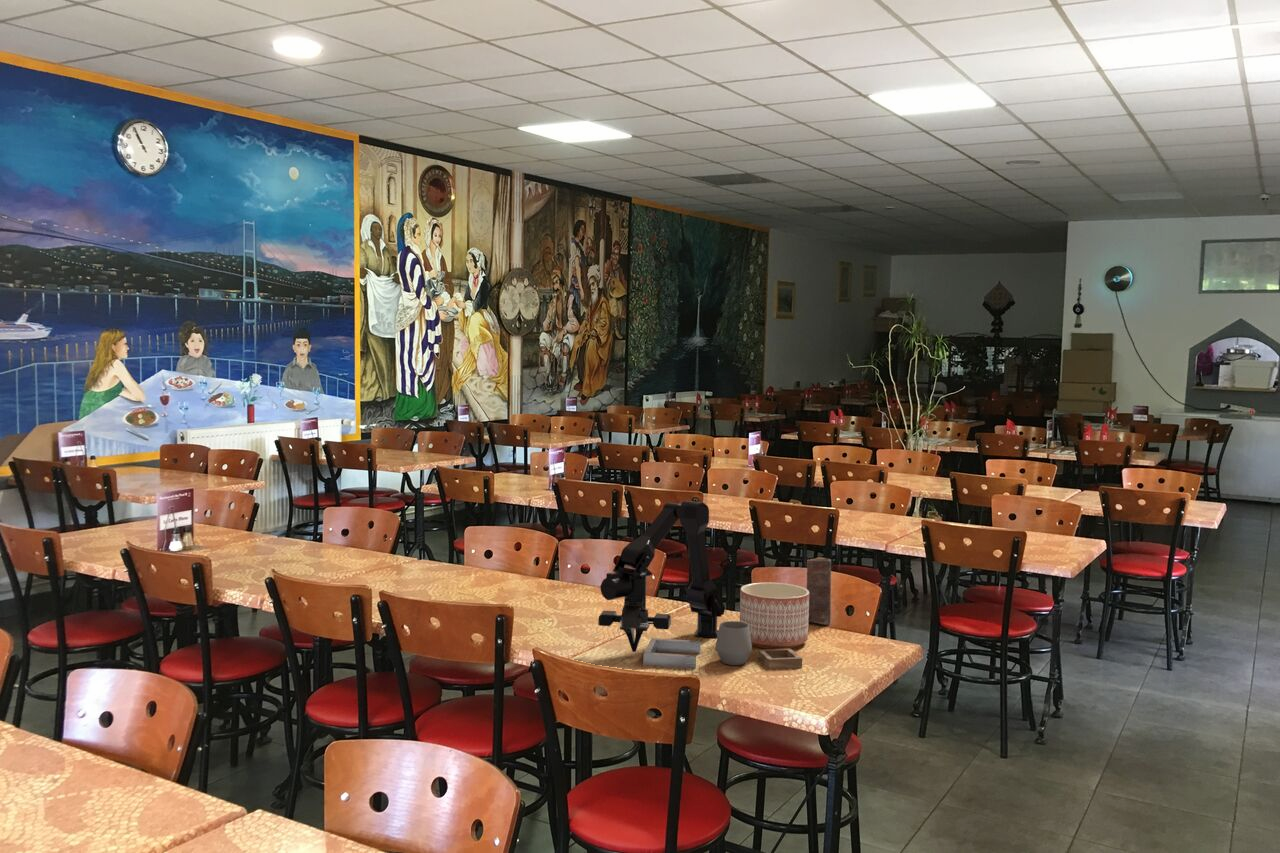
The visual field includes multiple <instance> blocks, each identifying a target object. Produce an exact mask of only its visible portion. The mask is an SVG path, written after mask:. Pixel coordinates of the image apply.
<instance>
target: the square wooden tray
mask: <svg viewBox="0 0 1280 853" xmlns="http://www.w3.org/2000/svg"><path fill="white" fill-rule="evenodd" d="M757 660H759V662H760V663H762V664H763V665H764V666H765V667H766V668H767V669H768V670H776V669H777V670H778V669H781V670H782V669H797V668H798V669H799V668H803V658H802V656H800V655H799V654H797V653H796V652H795V651H794V650H793V648H789V649H766V648H763V649H758V650H757Z"/></svg>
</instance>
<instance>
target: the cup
mask: <svg viewBox="0 0 1280 853" xmlns="http://www.w3.org/2000/svg"><path fill="white" fill-rule="evenodd" d="M718 630H719V631H718V636H717V638H716V641H715V650H716V653H717V655H718V657H719V660H720V661H721V663H723V664H725V665H728V666H741V665H743V664H745V663H747V661H748V658H749V656H750V655H751V653H752V651H753V645H752V644H751V637H750V630H749V625H748V624H746V623H743V622H740V621H738V620H737V621H735V620H729V621H728V620H727V621H723V622H720V623H719V627H718Z"/></svg>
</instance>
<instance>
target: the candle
mask: <svg viewBox="0 0 1280 853" xmlns="http://www.w3.org/2000/svg"><path fill="white" fill-rule="evenodd" d="M806 567H807V568H806V589H807V590H808V591H809V618H808V622H811V623H814V624H820V625H825V626H830V625H831V621H832V620H831V618H832V617H831V615H832V614H831V612H832V608H831V607H832V605H831V604H832V603H831V602H832V601H831V600H832V599H831V598H832V595H831V593H832V592H831V590H832V585H831V584H832V583H831V582H832V559H830V558H825V557H819V556H818V557H816V558H811V559H807V560H806Z"/></svg>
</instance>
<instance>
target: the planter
mask: <svg viewBox="0 0 1280 853" xmlns="http://www.w3.org/2000/svg"><path fill="white" fill-rule="evenodd" d="M739 593H740V594H739V597H740V598H739V599H740V600H739V622H743V623H746V624H748V625H749V630H750V637H751V644H752V647H757V648H761V649H789V648H790V649H794V648H798V647H799V646H801V645H802V644H804V643H806V642H807V641H808V639H809V621H808V618H809V591H808V590H807V588H806V587H803V586H800V585H797V584H796V585H795V584H792V583H783V582H754V583H748V584H744V585H742V586H741V587H740V591H739Z"/></svg>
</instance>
